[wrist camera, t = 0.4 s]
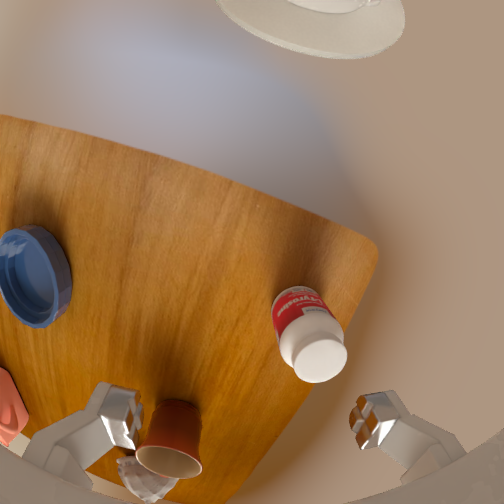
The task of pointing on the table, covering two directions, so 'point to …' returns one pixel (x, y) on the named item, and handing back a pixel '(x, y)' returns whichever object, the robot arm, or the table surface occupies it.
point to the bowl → (34, 275)
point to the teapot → (10, 409)
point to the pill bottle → (308, 334)
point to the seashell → (143, 480)
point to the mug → (172, 441)
